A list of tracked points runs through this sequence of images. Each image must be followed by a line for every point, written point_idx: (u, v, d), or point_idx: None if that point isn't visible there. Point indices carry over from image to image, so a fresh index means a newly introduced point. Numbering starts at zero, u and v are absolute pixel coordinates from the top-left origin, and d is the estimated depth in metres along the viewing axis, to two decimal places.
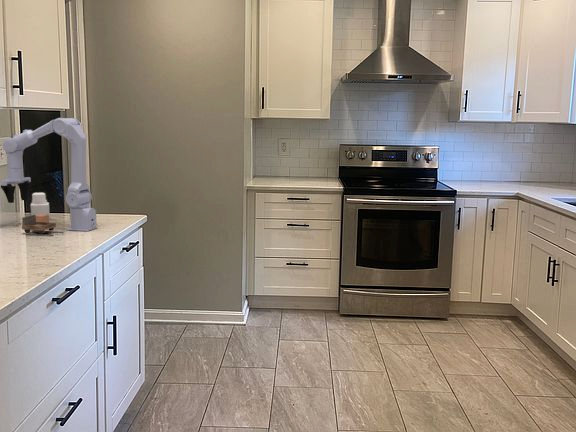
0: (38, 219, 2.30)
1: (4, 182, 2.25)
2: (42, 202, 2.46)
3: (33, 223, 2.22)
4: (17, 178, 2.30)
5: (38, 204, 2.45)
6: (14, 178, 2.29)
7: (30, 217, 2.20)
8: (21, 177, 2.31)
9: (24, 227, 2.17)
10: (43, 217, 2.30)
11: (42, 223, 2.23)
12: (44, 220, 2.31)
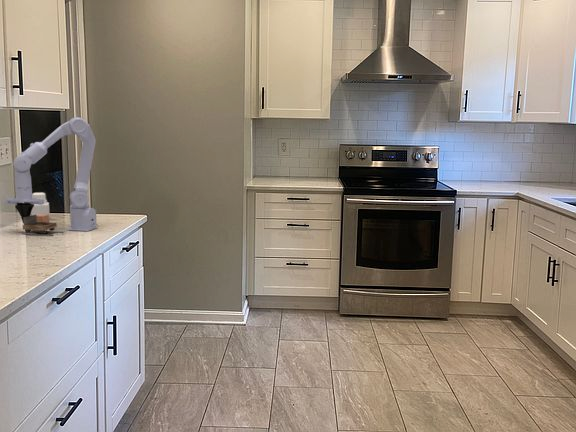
0: (38, 219, 2.30)
1: None
2: None
3: (34, 223, 2.22)
4: (16, 198, 2.17)
5: (38, 204, 2.45)
6: (16, 198, 2.18)
7: (31, 217, 2.20)
8: (19, 198, 2.17)
9: (25, 227, 2.17)
10: (43, 217, 2.30)
11: (43, 223, 2.23)
12: (44, 220, 2.31)
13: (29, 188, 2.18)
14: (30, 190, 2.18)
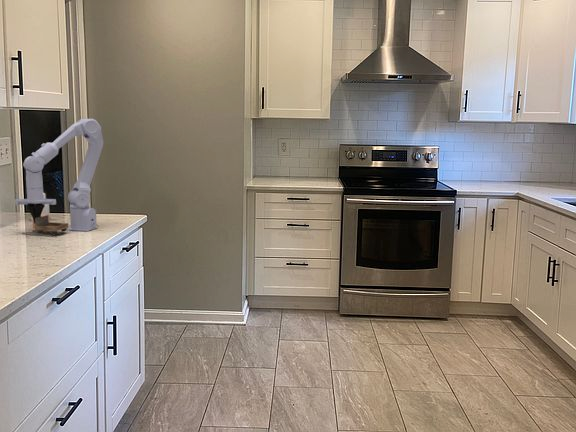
0: None
1: None
2: None
3: (45, 224, 2.21)
4: (28, 199, 2.16)
5: None
6: (27, 198, 2.17)
7: (43, 218, 2.19)
8: (32, 198, 2.15)
9: (37, 228, 2.16)
10: None
11: (54, 224, 2.22)
12: None
13: (41, 188, 2.17)
14: (42, 190, 2.18)
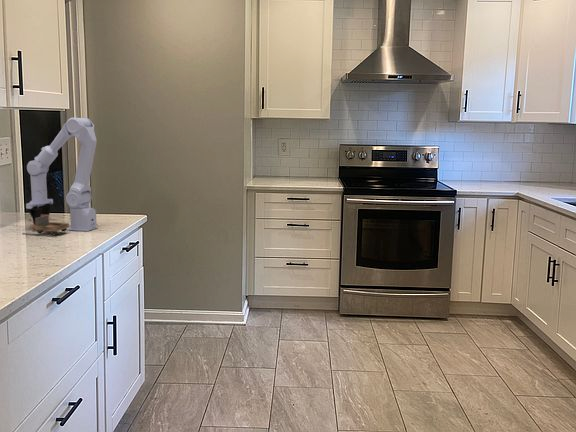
0: None
1: (29, 205, 2.24)
2: None
3: (46, 224, 2.21)
4: (41, 201, 2.28)
5: None
6: (38, 201, 2.28)
7: (43, 218, 2.19)
8: (45, 199, 2.30)
9: (37, 228, 2.16)
10: None
11: (55, 224, 2.22)
12: None
13: None
14: None
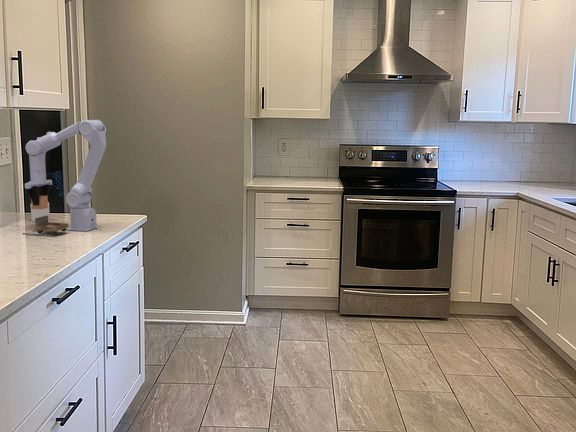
0: None
1: (28, 185, 2.22)
2: None
3: (46, 224, 2.21)
4: (40, 181, 2.27)
5: None
6: (37, 181, 2.27)
7: (43, 218, 2.19)
8: (44, 180, 2.28)
9: (37, 228, 2.16)
10: (42, 198, 2.29)
11: (55, 224, 2.22)
12: (43, 201, 2.29)
13: None
14: None
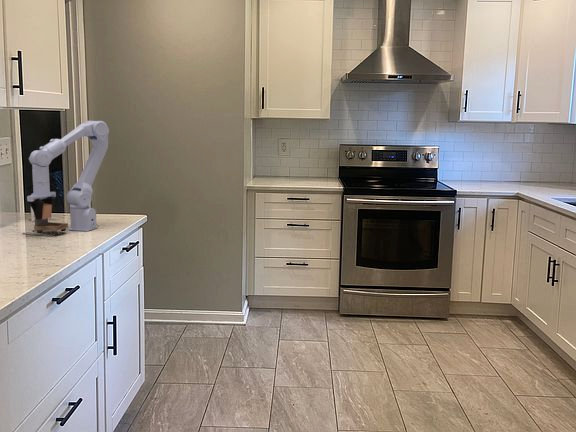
0: None
1: (30, 198, 2.10)
2: None
3: (45, 224, 2.21)
4: (43, 193, 2.15)
5: None
6: (40, 193, 2.14)
7: None
8: (47, 192, 2.16)
9: (36, 228, 2.16)
10: (45, 207, 2.16)
11: (54, 224, 2.22)
12: (46, 210, 2.17)
13: None
14: None
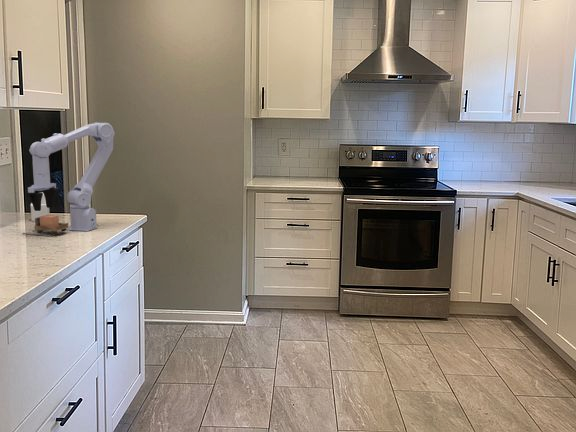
0: (49, 224, 2.16)
1: (31, 189, 2.11)
2: (42, 202, 2.46)
3: None
4: (44, 184, 2.16)
5: None
6: (41, 184, 2.15)
7: None
8: (48, 183, 2.17)
9: (37, 228, 2.16)
10: None
11: None
12: None
13: None
14: None
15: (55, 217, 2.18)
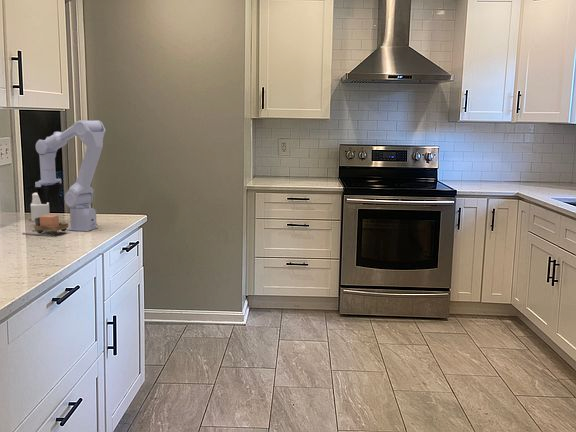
0: (49, 224, 2.16)
1: (38, 183, 2.27)
2: None
3: None
4: (50, 179, 2.32)
5: (38, 204, 2.45)
6: (47, 179, 2.31)
7: None
8: (54, 178, 2.33)
9: (37, 228, 2.16)
10: None
11: None
12: None
13: None
14: None
15: (55, 217, 2.18)
